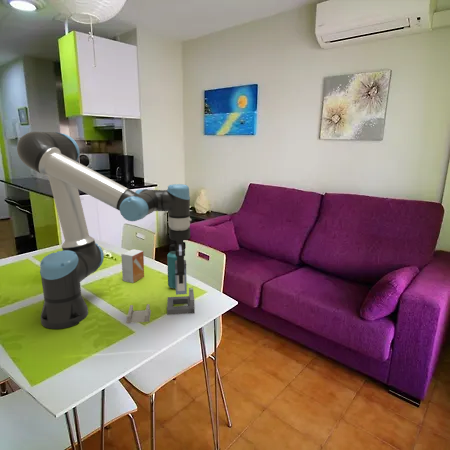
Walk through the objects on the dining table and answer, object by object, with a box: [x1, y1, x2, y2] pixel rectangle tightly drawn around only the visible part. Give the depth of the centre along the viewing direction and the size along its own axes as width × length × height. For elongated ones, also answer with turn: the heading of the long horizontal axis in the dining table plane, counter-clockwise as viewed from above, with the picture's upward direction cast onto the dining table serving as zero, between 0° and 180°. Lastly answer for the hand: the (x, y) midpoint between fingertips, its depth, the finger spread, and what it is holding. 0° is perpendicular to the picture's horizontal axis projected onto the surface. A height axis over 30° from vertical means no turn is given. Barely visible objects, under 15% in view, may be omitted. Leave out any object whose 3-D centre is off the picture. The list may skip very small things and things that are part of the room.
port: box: [166, 287, 195, 316], centre depth 122 cm, size 10×10×7 cm
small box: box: [120, 248, 145, 284], centre depth 147 cm, size 8×6×13 cm
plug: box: [175, 259, 188, 295], centre depth 120 cm, size 4×4×12 cm
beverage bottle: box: [166, 243, 177, 289], centre depth 138 cm, size 6×7×20 cm
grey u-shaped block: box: [125, 303, 152, 324], centre depth 116 cm, size 8×8×3 cm
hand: (181, 287), depth 121 cm, fingers closed on plug, 4 cm apart
